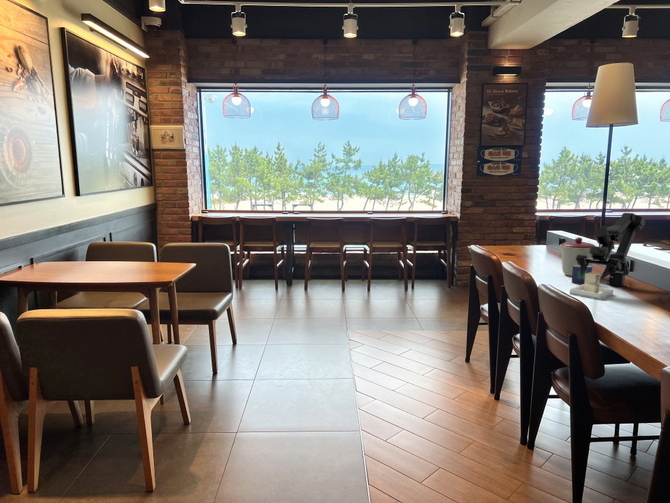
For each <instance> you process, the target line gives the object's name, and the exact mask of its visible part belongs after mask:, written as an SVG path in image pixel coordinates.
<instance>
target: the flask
mask: <svg viewBox="0 0 670 503" xmlns="http://www.w3.org/2000/svg"><path fill="white" fill-rule="evenodd" d="M589 272H591V273H593V265H592V266H587V269H586V271H585V272H584V274H583V275H582V276H581V274H580V273H581V266H580V265H579V266H578V265H576V266H573V270H572V276H571V284H576V285H583V284H584V283H585V274H586V273H589Z"/></svg>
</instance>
